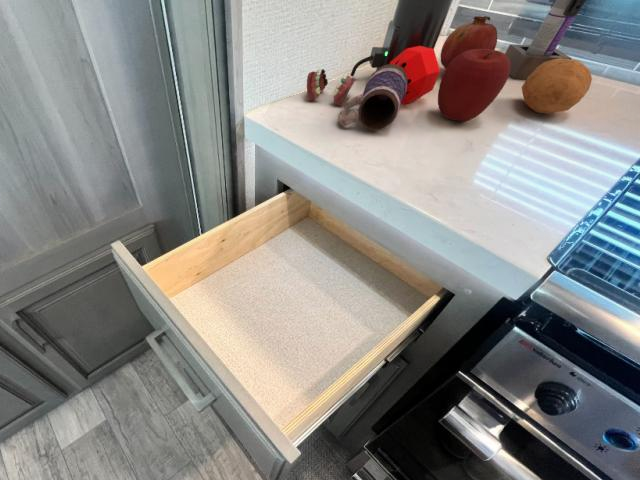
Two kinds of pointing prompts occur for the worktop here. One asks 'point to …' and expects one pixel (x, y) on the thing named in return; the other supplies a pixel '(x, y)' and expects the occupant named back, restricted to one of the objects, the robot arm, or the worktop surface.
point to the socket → (527, 60)
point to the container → (551, 30)
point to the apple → (472, 83)
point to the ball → (418, 71)
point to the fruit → (469, 39)
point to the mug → (377, 99)
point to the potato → (556, 85)
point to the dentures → (319, 81)
